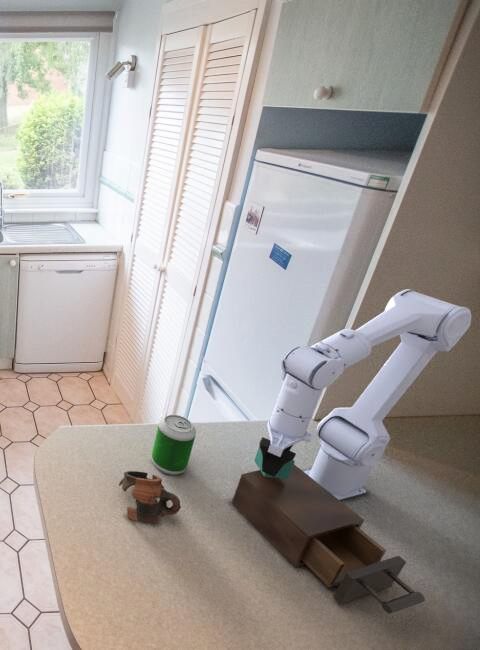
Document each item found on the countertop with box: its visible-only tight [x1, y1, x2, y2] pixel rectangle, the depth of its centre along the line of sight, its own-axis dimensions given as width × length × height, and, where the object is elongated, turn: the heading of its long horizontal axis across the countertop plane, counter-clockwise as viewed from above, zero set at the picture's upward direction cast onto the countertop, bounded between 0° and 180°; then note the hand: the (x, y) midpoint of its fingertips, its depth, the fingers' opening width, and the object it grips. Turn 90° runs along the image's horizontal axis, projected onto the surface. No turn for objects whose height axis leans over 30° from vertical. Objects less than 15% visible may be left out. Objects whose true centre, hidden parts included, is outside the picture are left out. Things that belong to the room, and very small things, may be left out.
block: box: [253, 446, 296, 479], centre depth 89 cm, size 4×4×4 cm
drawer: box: [301, 525, 426, 615], centre depth 78 cm, size 18×11×6 cm, turn 15°
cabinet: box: [231, 463, 365, 568], centre depth 87 cm, size 15×13×8 cm
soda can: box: [151, 414, 197, 476], centre depth 101 cm, size 8×8×12 cm
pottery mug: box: [118, 470, 182, 524], centre depth 91 cm, size 12×10×8 cm
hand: (272, 464), depth 89 cm, fingers closed on block, 6 cm apart
